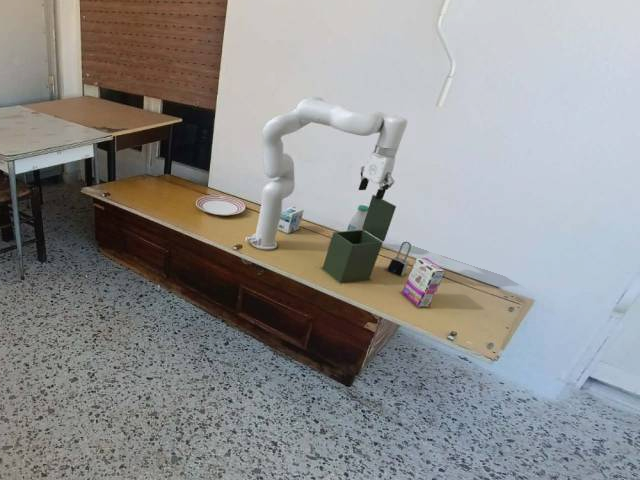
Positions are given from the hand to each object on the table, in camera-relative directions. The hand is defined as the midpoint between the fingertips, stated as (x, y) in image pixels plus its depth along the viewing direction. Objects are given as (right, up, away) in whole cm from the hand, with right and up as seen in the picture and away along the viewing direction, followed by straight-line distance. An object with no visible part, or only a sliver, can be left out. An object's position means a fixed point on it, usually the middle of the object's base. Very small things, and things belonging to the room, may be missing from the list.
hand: (370, 194), depth 181 cm
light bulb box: (-12, -7, +58) cm, 59 cm away
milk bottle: (+14, -16, +45) cm, 50 cm away
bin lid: (+7, -8, +7) cm, 13 cm away
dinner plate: (-44, +7, +77) cm, 89 cm away
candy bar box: (+20, -42, +3) cm, 47 cm away
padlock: (+23, -30, +22) cm, 44 cm away
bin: (-1, -31, +19) cm, 37 cm away
